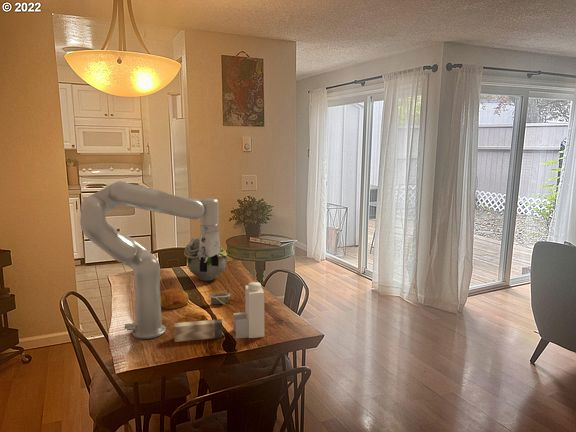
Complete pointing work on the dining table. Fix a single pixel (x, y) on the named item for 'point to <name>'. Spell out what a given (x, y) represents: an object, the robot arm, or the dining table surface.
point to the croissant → (173, 298)
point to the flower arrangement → (212, 271)
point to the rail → (198, 330)
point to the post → (251, 313)
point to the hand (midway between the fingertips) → (209, 268)
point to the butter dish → (219, 297)
